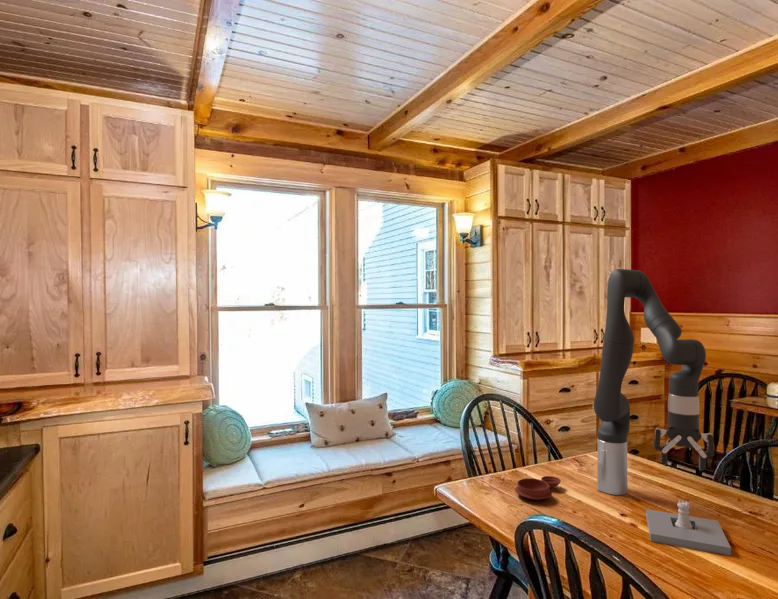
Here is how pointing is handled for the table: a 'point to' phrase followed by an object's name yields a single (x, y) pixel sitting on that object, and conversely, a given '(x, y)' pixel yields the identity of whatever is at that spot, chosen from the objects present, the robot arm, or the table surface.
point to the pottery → (537, 487)
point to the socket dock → (687, 532)
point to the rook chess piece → (683, 516)
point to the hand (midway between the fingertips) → (683, 467)
